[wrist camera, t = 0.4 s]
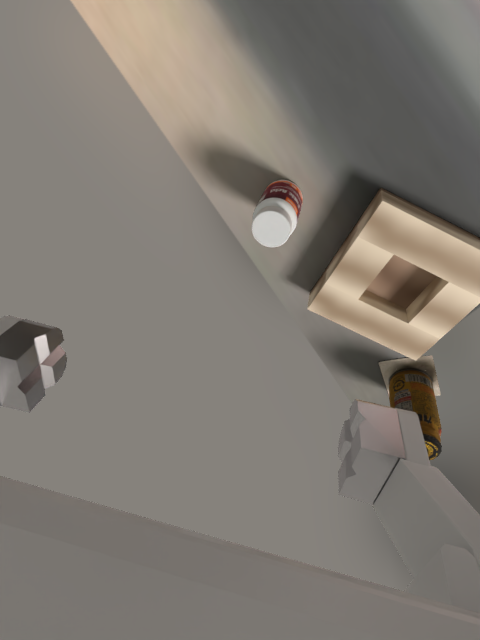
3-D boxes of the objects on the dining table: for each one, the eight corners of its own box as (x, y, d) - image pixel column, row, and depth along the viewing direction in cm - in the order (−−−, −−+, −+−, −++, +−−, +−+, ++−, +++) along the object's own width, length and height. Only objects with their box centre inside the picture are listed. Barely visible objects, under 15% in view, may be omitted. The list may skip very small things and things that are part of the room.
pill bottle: (310, 189, 44) (302, 220, 37) (292, 224, 47) (281, 258, 40) (272, 171, 43) (258, 198, 37) (256, 207, 46) (241, 238, 40)
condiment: (390, 399, 61) (396, 467, 52) (378, 361, 57) (382, 428, 48) (440, 394, 58) (456, 465, 49) (431, 353, 54) (447, 423, 45)
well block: (380, 187, 42) (382, 200, 39) (506, 251, 43) (517, 268, 40) (310, 292, 52) (307, 309, 49) (412, 341, 53) (415, 360, 50)
